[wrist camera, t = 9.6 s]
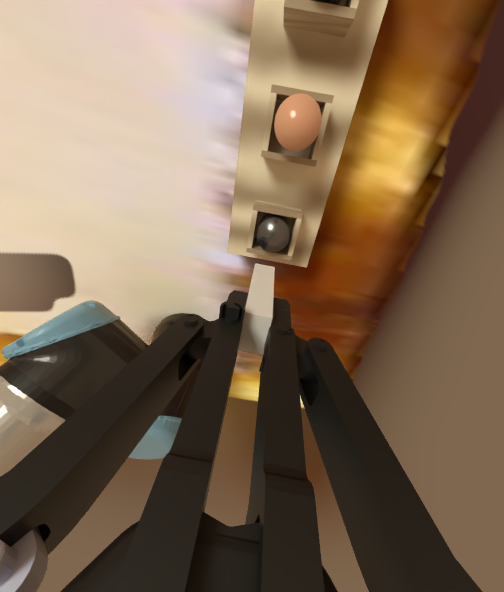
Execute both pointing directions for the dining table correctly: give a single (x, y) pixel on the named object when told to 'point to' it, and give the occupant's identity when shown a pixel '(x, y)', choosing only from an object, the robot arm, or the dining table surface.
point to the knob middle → (297, 122)
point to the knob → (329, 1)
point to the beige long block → (269, 96)
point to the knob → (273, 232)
